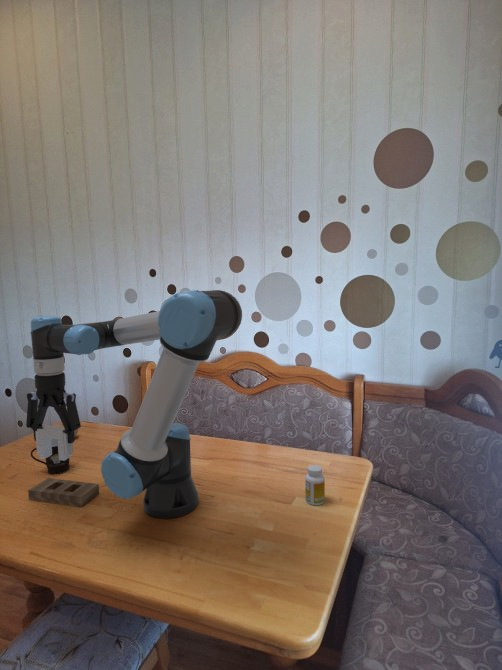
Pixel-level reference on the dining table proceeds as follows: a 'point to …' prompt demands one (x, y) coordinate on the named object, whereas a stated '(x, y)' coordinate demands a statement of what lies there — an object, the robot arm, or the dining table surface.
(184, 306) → the robot arm
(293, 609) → the dining table surface
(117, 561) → the dining table surface
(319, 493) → the supplement bottle
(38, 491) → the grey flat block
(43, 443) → the clip
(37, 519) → the dining table surface
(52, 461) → the coffee mug
